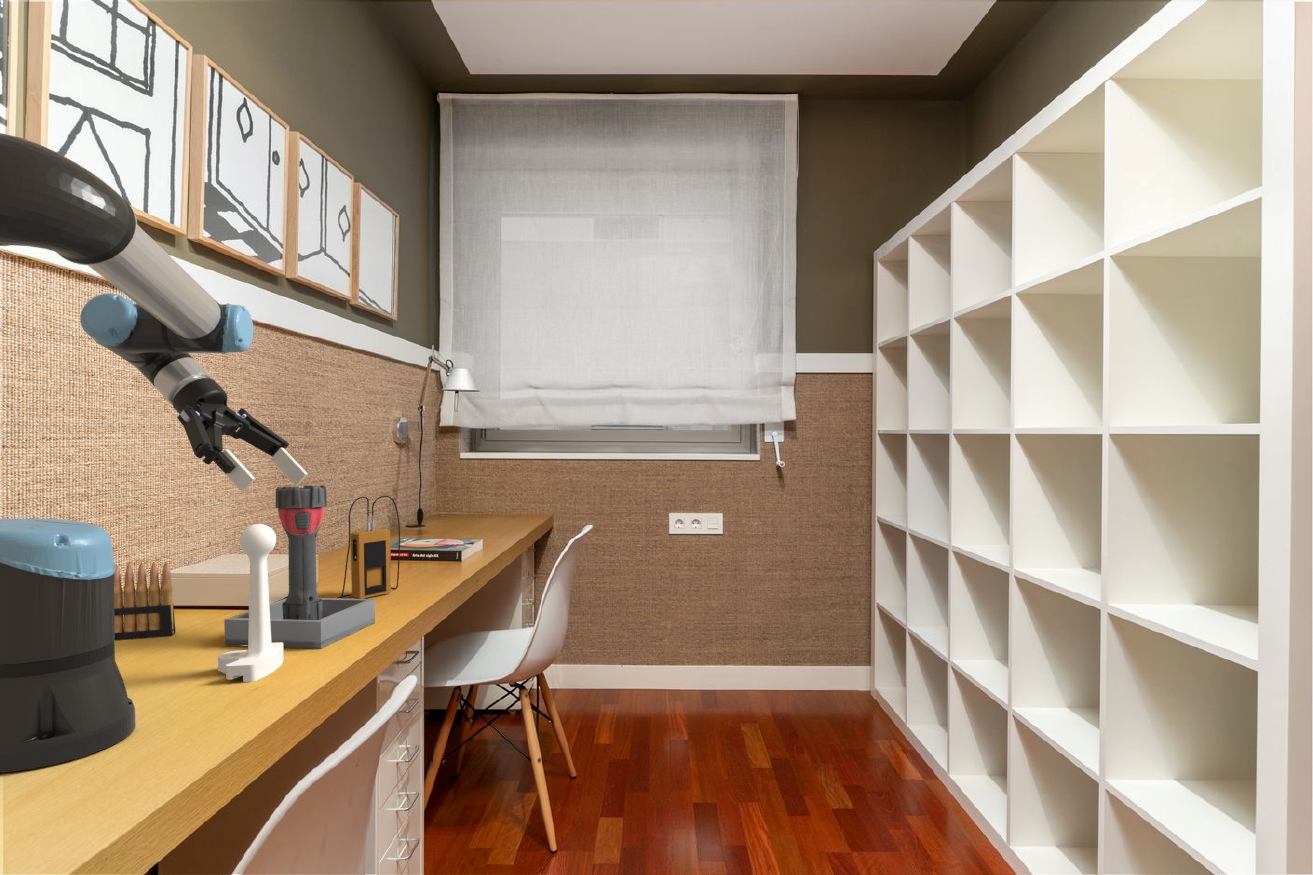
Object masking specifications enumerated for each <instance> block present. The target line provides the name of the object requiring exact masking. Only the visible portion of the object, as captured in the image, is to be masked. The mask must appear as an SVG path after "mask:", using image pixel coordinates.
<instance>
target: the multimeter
mask: <svg viewBox="0 0 1313 875" xmlns="http://www.w3.org/2000/svg"><path fill="white" fill-rule="evenodd" d="M382 498H389V499H390V500H391V501H392V503H393V504H394V508H395V511H396V516H397V517H396V518H397V527H398V528H397V529H398V552H397V553H398V554H397V555H398V558H397V559H398V560H397V576H396V578H397V579H396V587H394V586H393V587H392V586H391V582H392V581H391V580H392V579H391V578H392V577H391V574H392V573H391V572H392V571H391V570H392V569H391V568H392V556H391V530H390V529H389V528H375V527H376V526H375V519H374V518H375V517H374V505H375V503H376V502H377V501H378V500H379V499H382ZM361 499H366V501H367V502H366V503H367V504H366V505H367V506H366V511H367V513H366V514H367V517H366V530H361V531H353V532H352V531H351V511H352V510H353V509H352V508H353V507H354V505H355V503H356V501H358V500H361ZM369 503H370V502H369V498H368V497H367V496H360V497H357V498H356V499H355V500H354V501H353V502H352V503H351V505H350V508H349V512H348V546H347V547H348V548H347V552H346V560H345V570H344V578H343V586H342V592H341V596H338V597H337V598H338V599H344V598H345V597H350V596H351V598H352V599H369V598H373V597H377V596H382V595H384V596H386V595H390V593H391V591H392V589H393V590H397V589H398V587H399V579H400V578H399V577H400V576H399V575H400V559H401V557H400V556H401V550H400V549H401V530H400V529H401V528H400V526H401V525H400V518H399V512H398V508H397V505H396V502H395V500H394V498H392V497H391V496H389V495H381V496H379V497H377V498H376V499H375V500H374V501H373V503H372V504H371V523H370V514H369V513H370V512H369V511H370V510H369V509H370V504H369ZM349 555H350V568H351V570H350V571H351V572H350V573H351V579H350V580H351V594H346V595H344V593H345V586H346V580H347V570H348V564H349V562H348V561H349Z"/></svg>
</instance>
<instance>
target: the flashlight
mask: <svg viewBox="0 0 1313 875" xmlns="http://www.w3.org/2000/svg"><path fill="white" fill-rule="evenodd" d="M326 486H327V485H324V484H323V485H321V484H320V485H312V484H311V485H304V486H303V487H299V486H290V485H289V486H283V487H281V486H278V487H276V489H275V509H277V510H278V511H277V513H278V517H279V519H280V522H281V525H282V528H283V530H284V532H285V534H286V535H287V536H286V537H287V538H288V539H287V540H288V593H287V597H286V598H287V599H286V598H285V599H286V601H285V602H283V604H282V608H283V619H290V620H320V619H322V605H323V600H322V599H320V598H321V597H320V596H319V594H318V592H317V534H318V533H319V531H320V528H321V526H322V522H323V520H324V515H325V512H326V510H325V509H326V507H327V506H328V496H327V495H328V494H327V493H328V492H327V487H326Z"/></svg>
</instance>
